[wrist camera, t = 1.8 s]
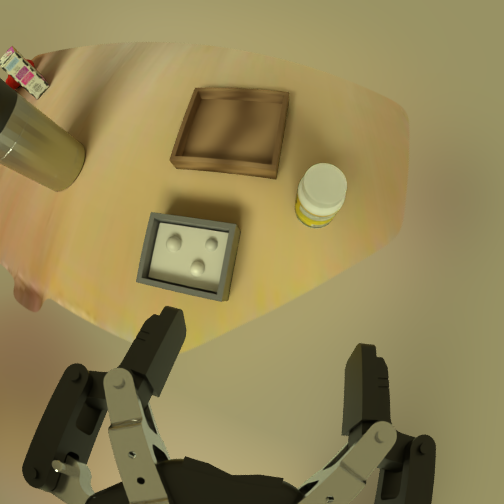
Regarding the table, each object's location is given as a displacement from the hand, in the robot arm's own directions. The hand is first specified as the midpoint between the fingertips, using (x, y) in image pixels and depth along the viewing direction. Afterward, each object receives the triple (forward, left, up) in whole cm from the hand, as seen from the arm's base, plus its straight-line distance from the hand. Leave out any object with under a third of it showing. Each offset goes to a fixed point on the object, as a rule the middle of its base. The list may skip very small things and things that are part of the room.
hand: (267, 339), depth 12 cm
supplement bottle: (+3, +12, -19) cm, 22 cm away
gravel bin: (-10, +4, -18) cm, 21 cm away
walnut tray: (-9, +21, -18) cm, 29 cm away
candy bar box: (-65, +39, -19) cm, 78 cm away
